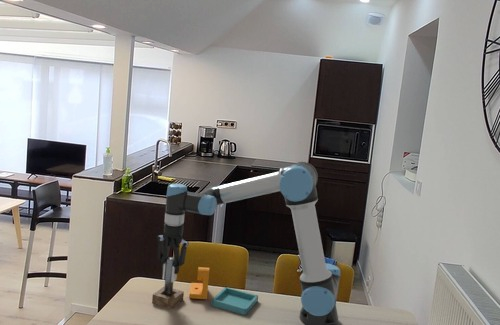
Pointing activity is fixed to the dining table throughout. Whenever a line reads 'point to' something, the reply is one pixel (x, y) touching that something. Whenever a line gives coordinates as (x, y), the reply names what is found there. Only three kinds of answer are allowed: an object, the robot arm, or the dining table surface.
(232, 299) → the tray
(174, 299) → the tan square sleeve
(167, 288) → the pin
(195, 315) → the dining table surface
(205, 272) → the bracket
